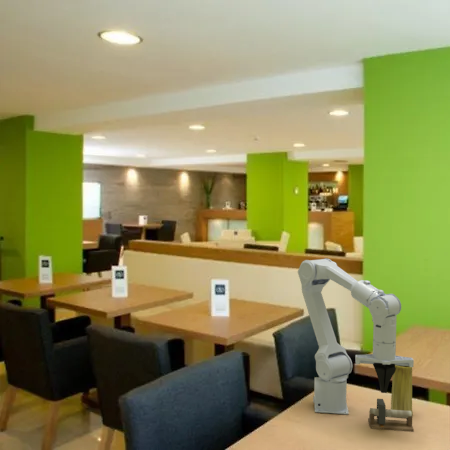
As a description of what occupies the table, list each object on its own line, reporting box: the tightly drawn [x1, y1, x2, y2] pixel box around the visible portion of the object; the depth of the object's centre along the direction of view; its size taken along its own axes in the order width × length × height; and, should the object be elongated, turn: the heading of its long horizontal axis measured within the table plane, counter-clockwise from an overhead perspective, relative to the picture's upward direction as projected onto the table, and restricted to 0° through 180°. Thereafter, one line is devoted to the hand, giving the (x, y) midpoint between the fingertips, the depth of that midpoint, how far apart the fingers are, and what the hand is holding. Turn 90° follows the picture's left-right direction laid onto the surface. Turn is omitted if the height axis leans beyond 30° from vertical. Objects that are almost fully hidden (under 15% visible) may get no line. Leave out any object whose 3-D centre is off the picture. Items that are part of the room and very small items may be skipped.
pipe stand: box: [367, 407, 414, 432], centre depth 134 cm, size 11×5×4 cm, turn 81°
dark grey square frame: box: [376, 398, 386, 424], centre depth 134 cm, size 2×4×5 cm, turn 171°
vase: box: [390, 365, 414, 416], centre depth 142 cm, size 6×6×14 cm
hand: (383, 391), depth 131 cm, fingers closed
